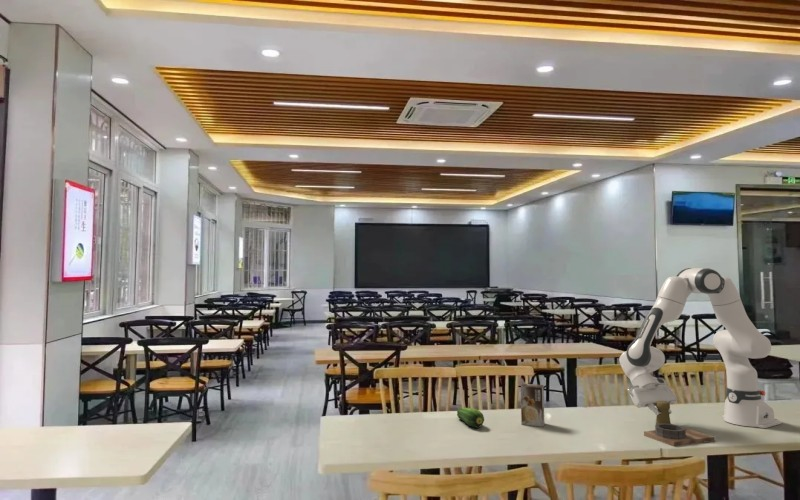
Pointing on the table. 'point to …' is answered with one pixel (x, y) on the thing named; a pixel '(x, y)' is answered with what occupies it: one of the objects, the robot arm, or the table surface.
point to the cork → (663, 412)
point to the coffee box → (532, 405)
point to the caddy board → (687, 440)
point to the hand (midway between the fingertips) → (664, 414)
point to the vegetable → (471, 416)
